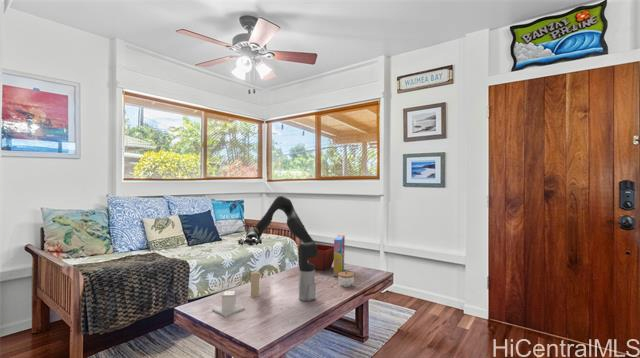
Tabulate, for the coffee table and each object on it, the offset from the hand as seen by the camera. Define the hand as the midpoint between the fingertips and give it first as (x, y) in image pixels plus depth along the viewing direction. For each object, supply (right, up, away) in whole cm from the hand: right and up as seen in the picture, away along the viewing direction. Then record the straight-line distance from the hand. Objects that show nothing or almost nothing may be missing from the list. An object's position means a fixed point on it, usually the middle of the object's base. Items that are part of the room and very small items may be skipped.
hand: (249, 243), depth 186 cm
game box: (+57, -33, +51) cm, 84 cm away
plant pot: (+43, -33, +62) cm, 83 cm away
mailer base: (+3, -32, +2) cm, 32 cm away
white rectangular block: (-7, -31, -19) cm, 37 cm away
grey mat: (-7, -32, -20) cm, 38 cm away
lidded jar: (+61, -33, +23) cm, 73 cm away
